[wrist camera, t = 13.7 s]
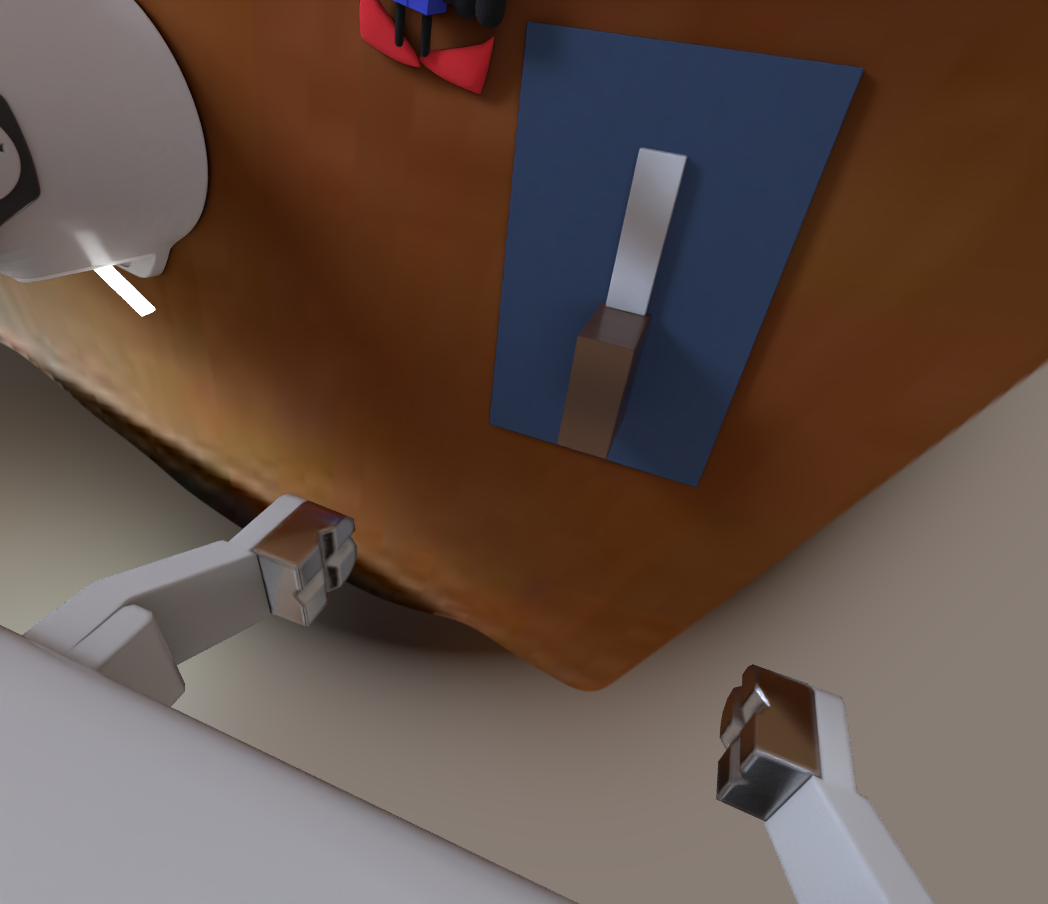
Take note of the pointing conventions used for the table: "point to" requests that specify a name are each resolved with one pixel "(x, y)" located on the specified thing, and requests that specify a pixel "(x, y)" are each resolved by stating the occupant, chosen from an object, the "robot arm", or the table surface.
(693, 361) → the desk mat
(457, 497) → the table surface
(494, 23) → the toy figure
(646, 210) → the letter opener
